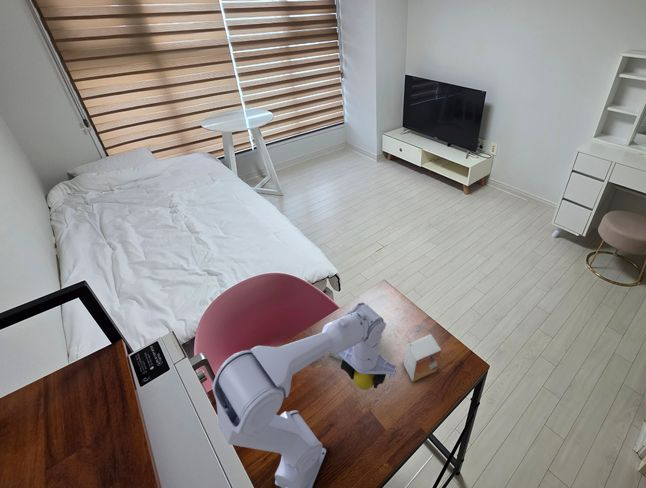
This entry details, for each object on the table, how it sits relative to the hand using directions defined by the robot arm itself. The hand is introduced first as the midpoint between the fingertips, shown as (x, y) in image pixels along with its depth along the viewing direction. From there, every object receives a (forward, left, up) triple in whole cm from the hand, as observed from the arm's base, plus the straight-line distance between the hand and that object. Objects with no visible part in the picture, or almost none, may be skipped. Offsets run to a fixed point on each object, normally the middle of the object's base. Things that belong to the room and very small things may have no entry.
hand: (365, 380), depth 80 cm
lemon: (0, 0, -2) cm, 2 cm away
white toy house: (+14, -12, -11) cm, 21 cm away
